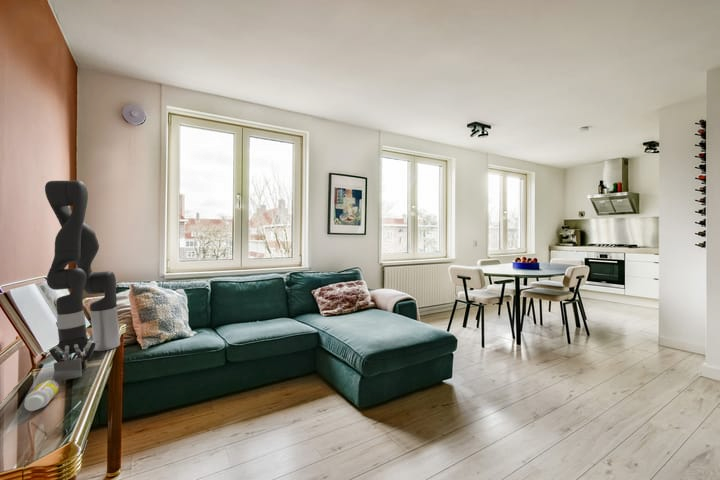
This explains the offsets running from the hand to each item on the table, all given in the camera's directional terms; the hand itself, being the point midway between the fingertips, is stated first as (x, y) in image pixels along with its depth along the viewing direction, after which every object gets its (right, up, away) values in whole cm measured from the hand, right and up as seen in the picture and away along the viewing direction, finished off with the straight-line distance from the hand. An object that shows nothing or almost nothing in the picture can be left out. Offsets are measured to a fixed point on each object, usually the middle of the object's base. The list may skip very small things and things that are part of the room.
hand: (76, 371), depth 121 cm
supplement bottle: (+4, +1, -16) cm, 16 cm away
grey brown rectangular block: (0, 0, -1) cm, 1 cm away
